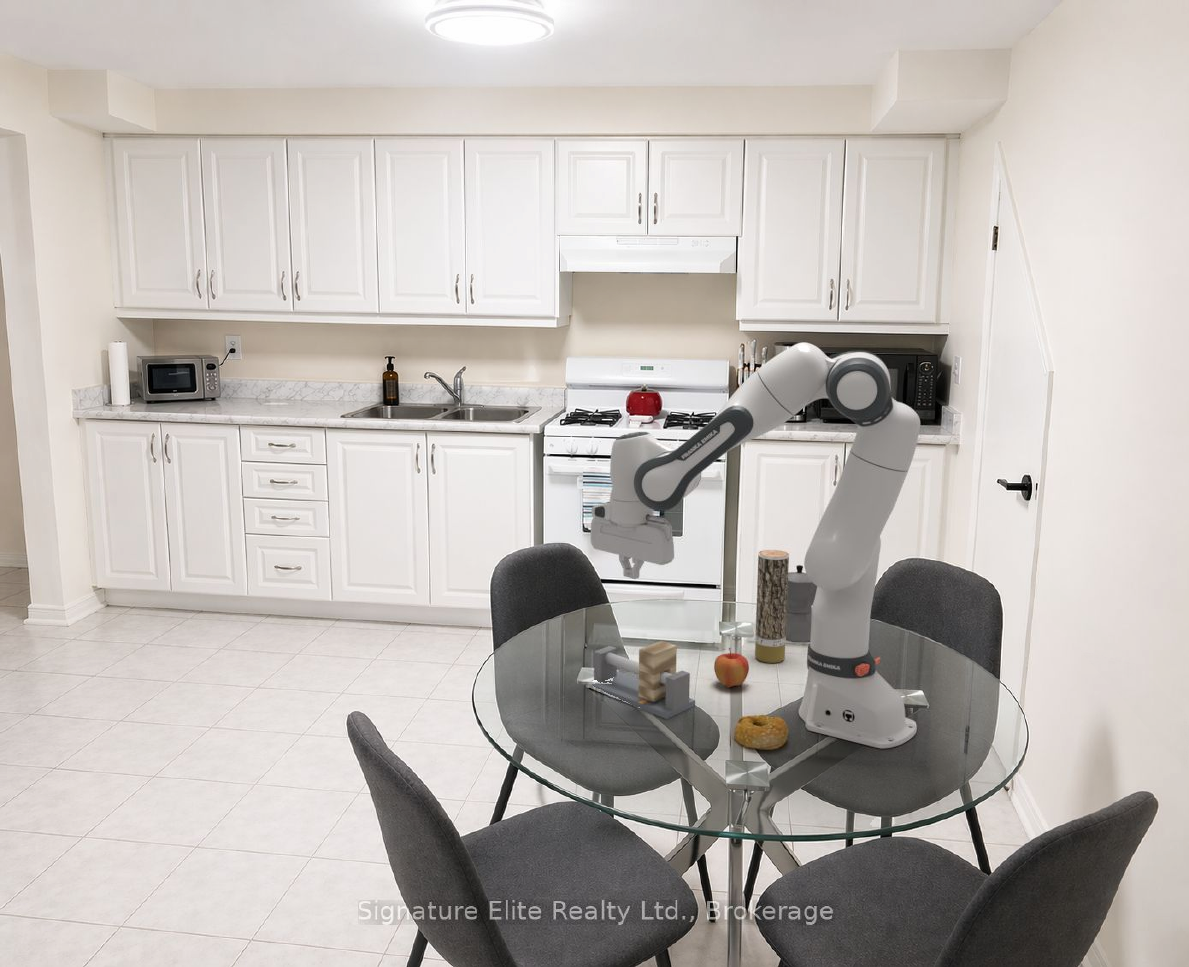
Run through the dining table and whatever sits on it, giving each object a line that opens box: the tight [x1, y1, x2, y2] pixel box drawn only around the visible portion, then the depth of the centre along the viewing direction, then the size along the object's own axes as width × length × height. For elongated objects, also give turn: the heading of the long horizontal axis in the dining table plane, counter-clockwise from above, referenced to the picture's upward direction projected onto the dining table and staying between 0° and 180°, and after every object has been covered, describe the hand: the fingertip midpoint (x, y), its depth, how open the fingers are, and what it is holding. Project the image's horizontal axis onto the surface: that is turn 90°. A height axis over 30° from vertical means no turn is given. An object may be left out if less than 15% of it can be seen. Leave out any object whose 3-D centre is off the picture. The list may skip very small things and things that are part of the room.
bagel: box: [734, 714, 789, 751], centre depth 178 cm, size 10×11×5 cm
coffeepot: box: [786, 564, 817, 643], centre depth 232 cm, size 15×9×18 cm, turn 70°
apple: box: [713, 647, 750, 689], centre depth 203 cm, size 7×7×8 cm
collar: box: [638, 640, 678, 702], centre depth 193 cm, size 4×7×10 cm, turn 136°
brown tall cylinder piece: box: [754, 549, 790, 664], centre depth 217 cm, size 7×7×25 cm
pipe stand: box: [592, 645, 696, 720], centre depth 197 cm, size 22×9×8 cm, turn 46°
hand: (631, 577), depth 196 cm, fingers closed
